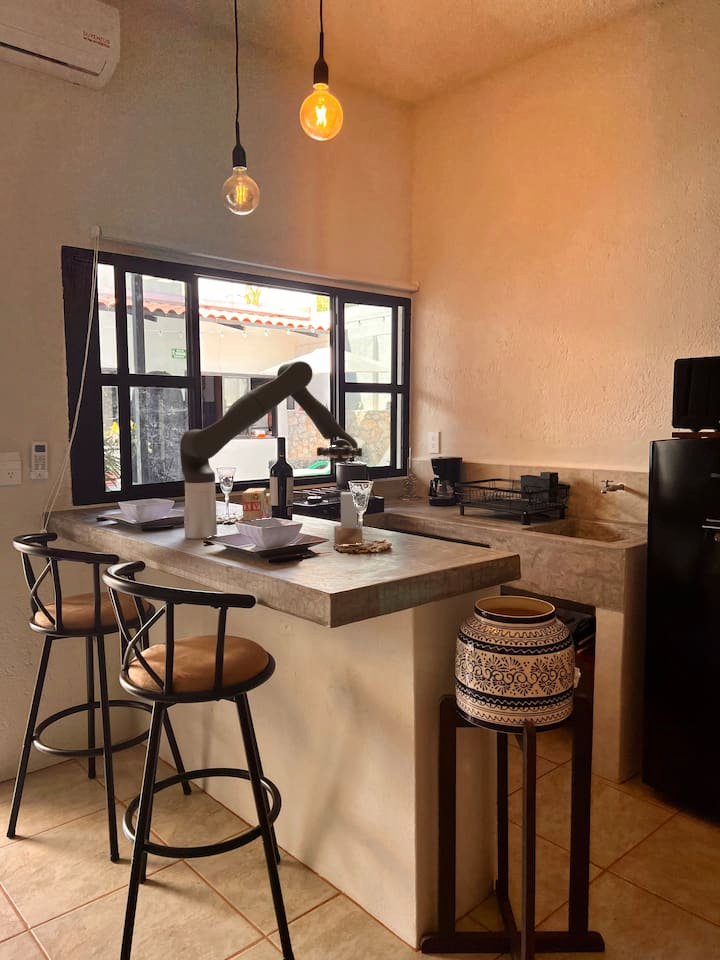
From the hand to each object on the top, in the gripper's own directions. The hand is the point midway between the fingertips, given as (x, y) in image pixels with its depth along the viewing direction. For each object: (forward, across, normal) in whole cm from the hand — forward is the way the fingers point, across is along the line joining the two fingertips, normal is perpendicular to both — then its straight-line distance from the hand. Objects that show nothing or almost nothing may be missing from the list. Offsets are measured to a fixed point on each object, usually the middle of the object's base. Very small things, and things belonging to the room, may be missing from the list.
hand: (338, 452), depth 212 cm
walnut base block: (+14, +4, +26) cm, 30 cm away
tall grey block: (+14, +4, +21) cm, 25 cm away
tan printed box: (-24, -29, +26) cm, 46 cm away
